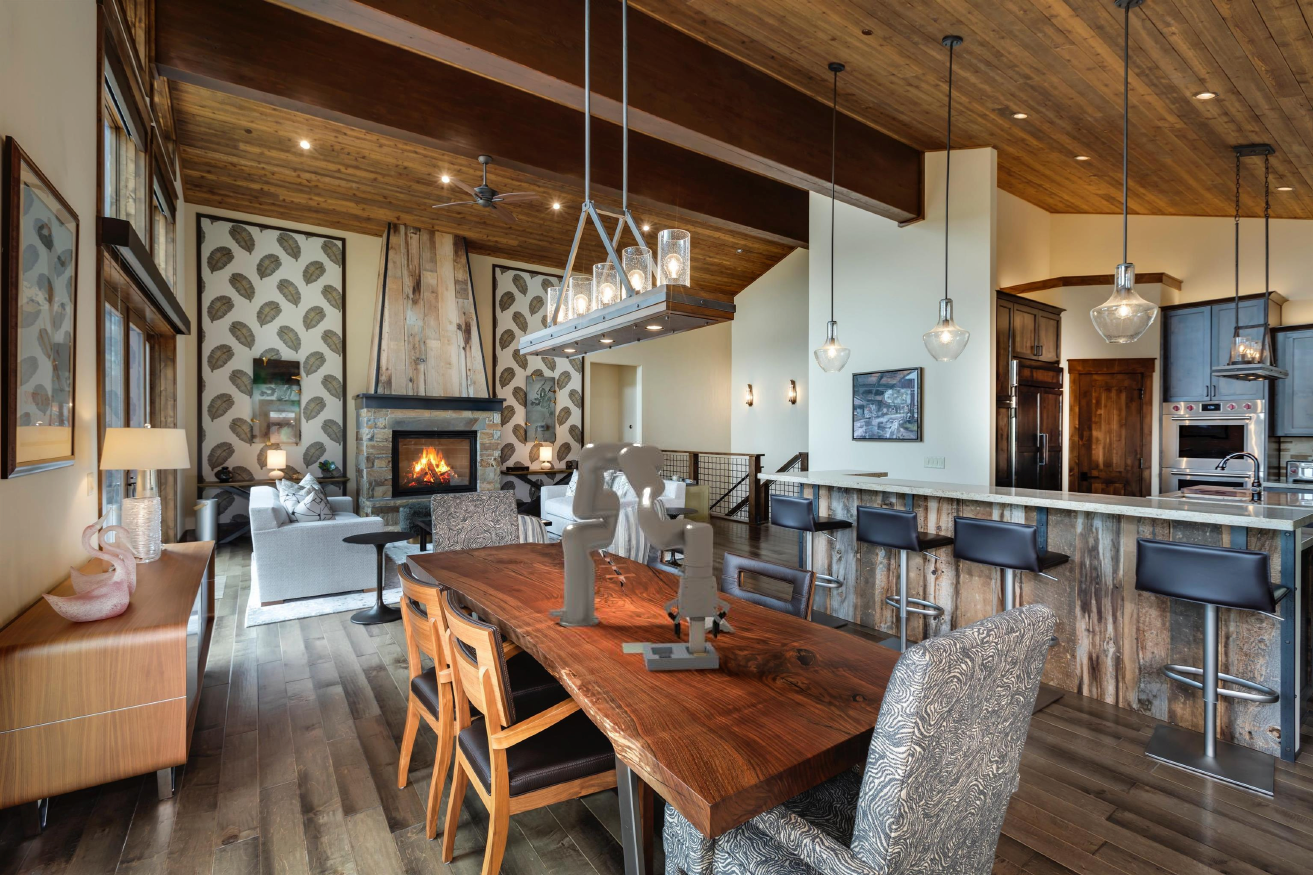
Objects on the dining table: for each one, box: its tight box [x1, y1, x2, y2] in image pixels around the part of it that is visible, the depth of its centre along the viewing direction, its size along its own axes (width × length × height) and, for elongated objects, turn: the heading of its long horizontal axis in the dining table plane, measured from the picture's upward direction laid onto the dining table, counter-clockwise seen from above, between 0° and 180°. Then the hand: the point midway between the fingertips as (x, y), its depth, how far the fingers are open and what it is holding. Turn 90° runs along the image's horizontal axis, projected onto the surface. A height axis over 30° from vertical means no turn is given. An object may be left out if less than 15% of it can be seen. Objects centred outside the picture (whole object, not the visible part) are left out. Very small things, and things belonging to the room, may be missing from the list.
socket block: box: [642, 641, 720, 671], centre depth 161 cm, size 18×11×4 cm, turn 97°
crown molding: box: [685, 612, 736, 634], centre depth 202 cm, size 29×12×4 cm, turn 9°
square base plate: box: [621, 642, 652, 654], centre depth 171 cm, size 8×8×1 cm
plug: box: [688, 617, 706, 654], centre depth 161 cm, size 4×4×13 cm
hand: (696, 637), depth 162 cm, fingers open, 9 cm apart
